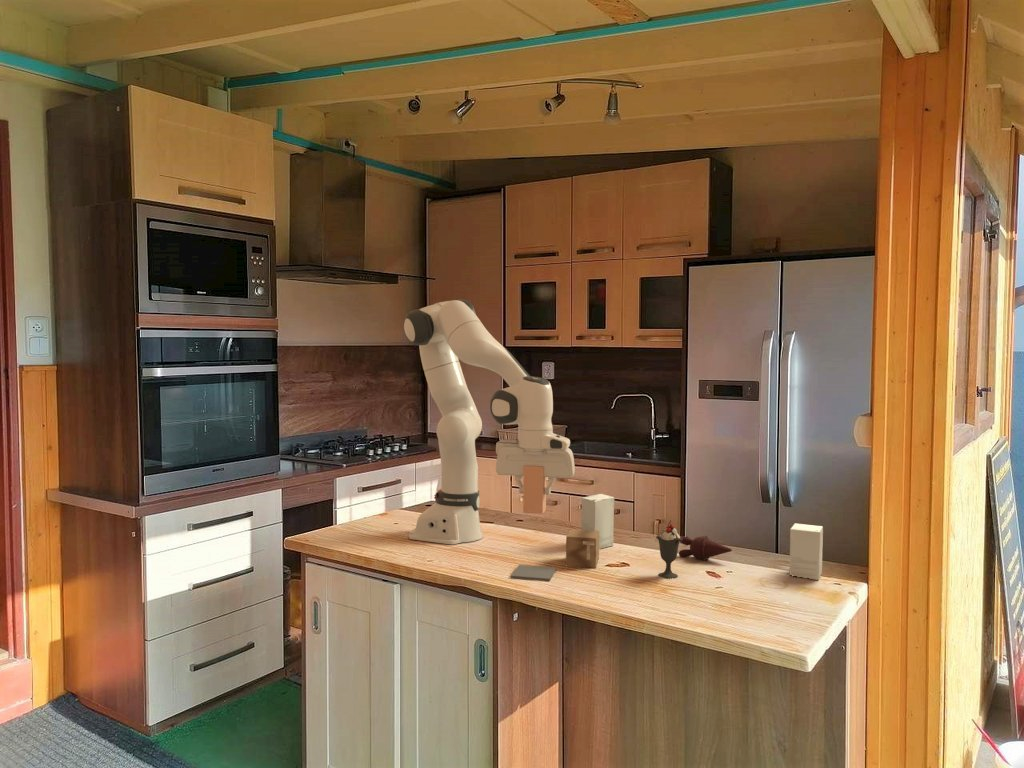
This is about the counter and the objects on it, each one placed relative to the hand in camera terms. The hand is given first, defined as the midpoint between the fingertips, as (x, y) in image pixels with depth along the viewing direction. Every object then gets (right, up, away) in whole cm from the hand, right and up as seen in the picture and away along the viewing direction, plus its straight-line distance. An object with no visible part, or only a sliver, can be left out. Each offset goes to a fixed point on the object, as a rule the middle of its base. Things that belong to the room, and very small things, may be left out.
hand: (534, 493), depth 203 cm
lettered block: (+13, -21, +12) cm, 27 cm away
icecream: (+48, -21, +16) cm, 54 cm away
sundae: (+35, -22, +1) cm, 41 cm away
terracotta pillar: (0, -5, 0) cm, 5 cm away
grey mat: (0, -21, +1) cm, 21 cm away
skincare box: (+19, -20, +29) cm, 40 cm away
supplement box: (+71, -22, +3) cm, 74 cm away
